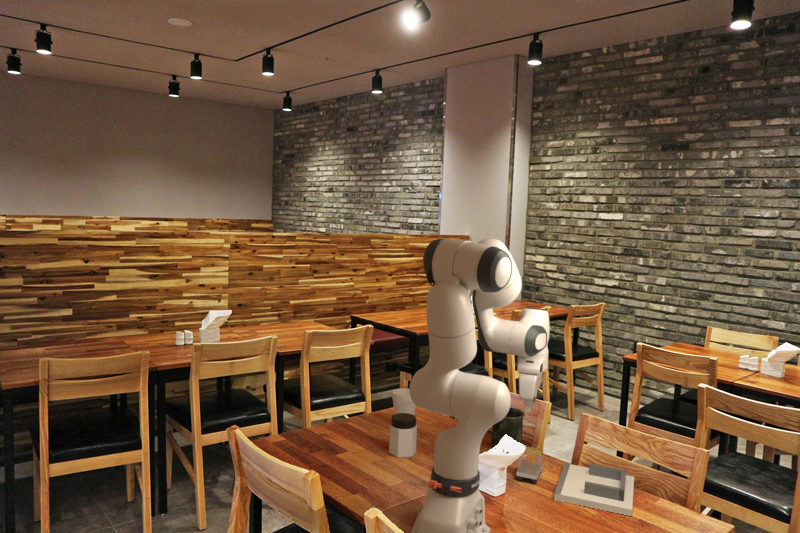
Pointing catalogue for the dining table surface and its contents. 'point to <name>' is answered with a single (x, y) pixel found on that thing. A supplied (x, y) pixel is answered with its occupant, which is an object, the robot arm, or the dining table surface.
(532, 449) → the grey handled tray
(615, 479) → the dock
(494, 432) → the mug
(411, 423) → the jar
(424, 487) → the dining table surface
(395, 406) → the foam cup
